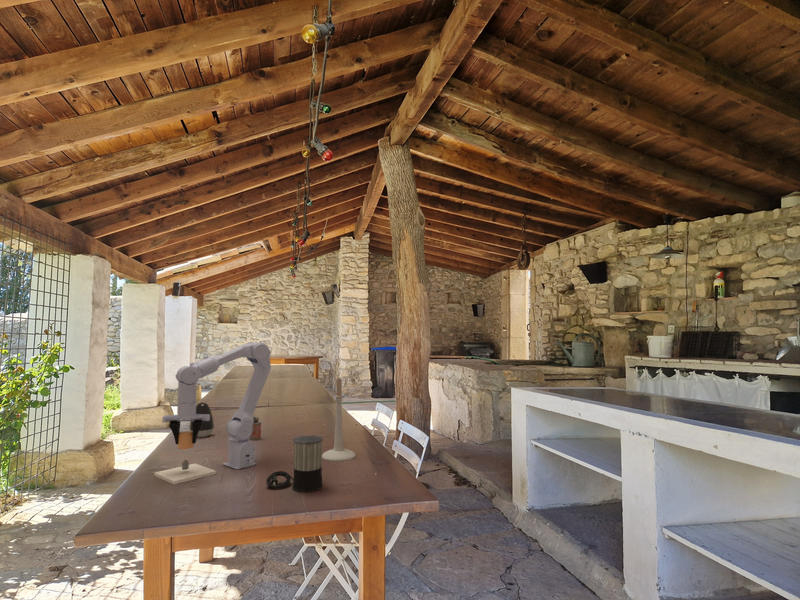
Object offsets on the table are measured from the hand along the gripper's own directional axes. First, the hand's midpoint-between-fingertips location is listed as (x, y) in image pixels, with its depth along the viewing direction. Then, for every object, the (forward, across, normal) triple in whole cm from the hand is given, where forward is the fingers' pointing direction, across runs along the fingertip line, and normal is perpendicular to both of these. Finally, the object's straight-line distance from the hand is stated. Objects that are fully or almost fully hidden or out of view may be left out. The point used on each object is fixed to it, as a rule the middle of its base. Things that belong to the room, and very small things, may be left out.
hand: (185, 443), depth 159 cm
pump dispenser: (+11, +7, -59) cm, 60 cm away
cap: (+2, 0, 0) cm, 2 cm away
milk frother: (+11, -36, +19) cm, 42 cm away
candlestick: (+11, -52, -13) cm, 54 cm away
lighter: (+11, -16, -48) cm, 52 cm away
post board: (+10, 0, 0) cm, 10 cm away
